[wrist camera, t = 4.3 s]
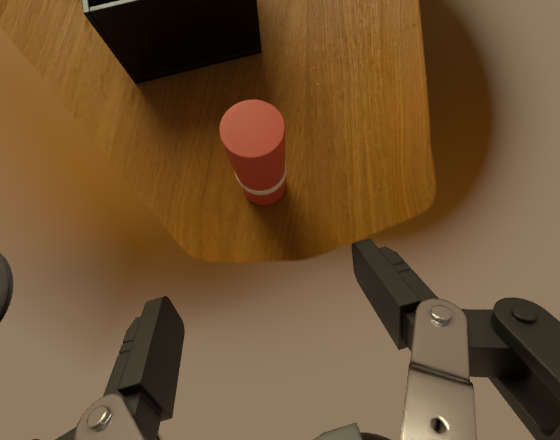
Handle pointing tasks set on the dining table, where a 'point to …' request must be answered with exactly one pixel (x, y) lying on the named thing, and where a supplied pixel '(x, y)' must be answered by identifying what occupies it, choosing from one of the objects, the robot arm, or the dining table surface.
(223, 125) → the striped red cylinder
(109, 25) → the bin
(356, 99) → the dining table surface
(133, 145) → the dining table surface
